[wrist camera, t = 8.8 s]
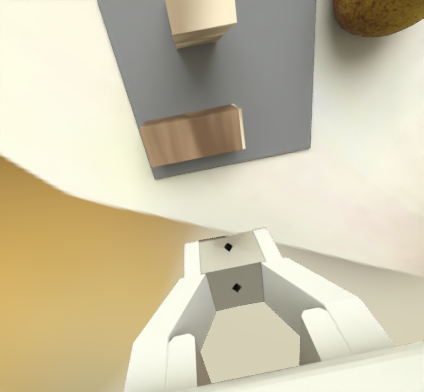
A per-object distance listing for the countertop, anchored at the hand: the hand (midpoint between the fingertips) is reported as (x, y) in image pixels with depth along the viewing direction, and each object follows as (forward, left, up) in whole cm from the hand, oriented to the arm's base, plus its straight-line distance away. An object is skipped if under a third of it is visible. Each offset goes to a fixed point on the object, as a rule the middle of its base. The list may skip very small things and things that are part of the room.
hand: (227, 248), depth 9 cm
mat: (-3, -4, -21) cm, 22 cm away
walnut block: (-4, 0, -19) cm, 19 cm away
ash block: (-1, -10, -21) cm, 23 cm away
